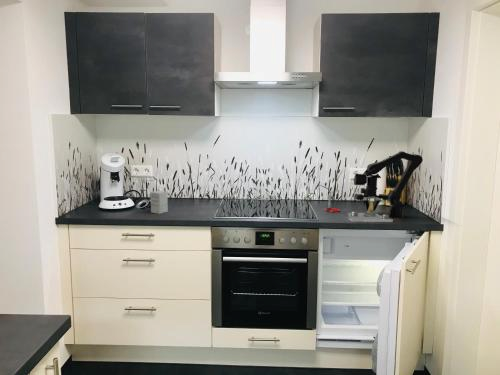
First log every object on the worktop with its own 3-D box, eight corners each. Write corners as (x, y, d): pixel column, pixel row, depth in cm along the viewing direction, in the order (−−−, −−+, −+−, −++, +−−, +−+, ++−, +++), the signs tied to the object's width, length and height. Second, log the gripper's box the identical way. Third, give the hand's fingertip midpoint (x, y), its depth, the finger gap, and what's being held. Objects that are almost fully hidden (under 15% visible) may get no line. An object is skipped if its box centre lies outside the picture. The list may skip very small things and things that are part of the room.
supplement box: (159, 210, 252) (158, 190, 250) (168, 211, 248) (167, 191, 246) (150, 212, 245) (150, 191, 244) (159, 213, 242) (159, 193, 240)
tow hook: (332, 209, 262) (322, 210, 257) (333, 189, 261) (324, 190, 255) (342, 211, 256) (333, 213, 250) (344, 191, 254) (334, 192, 248)
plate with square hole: (386, 218, 237) (386, 210, 237) (392, 222, 227) (393, 214, 227) (347, 217, 237) (347, 210, 236) (352, 221, 227) (352, 214, 226)
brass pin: (372, 215, 244) (373, 200, 243) (374, 216, 240) (375, 202, 239) (365, 215, 244) (366, 200, 243) (367, 216, 240) (368, 201, 239)
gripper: (382, 183, 247) (381, 208, 250) (352, 183, 247) (351, 208, 249) (389, 186, 236) (387, 212, 239) (357, 186, 236) (356, 212, 238)
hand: (370, 211), depth 241 cm, fingers closed on brass pin, 4 cm apart
